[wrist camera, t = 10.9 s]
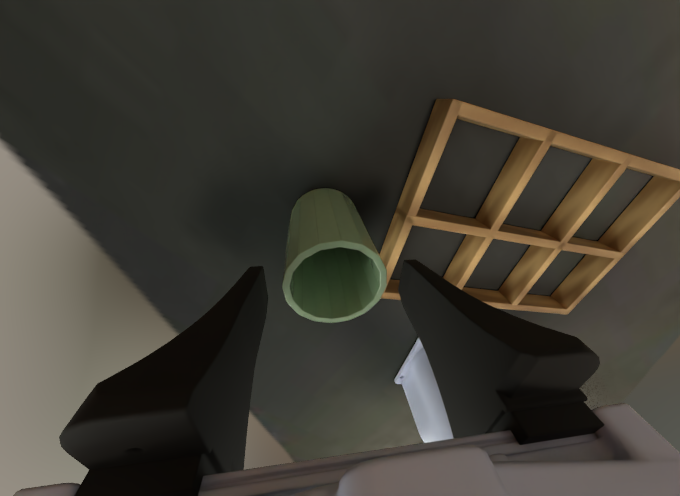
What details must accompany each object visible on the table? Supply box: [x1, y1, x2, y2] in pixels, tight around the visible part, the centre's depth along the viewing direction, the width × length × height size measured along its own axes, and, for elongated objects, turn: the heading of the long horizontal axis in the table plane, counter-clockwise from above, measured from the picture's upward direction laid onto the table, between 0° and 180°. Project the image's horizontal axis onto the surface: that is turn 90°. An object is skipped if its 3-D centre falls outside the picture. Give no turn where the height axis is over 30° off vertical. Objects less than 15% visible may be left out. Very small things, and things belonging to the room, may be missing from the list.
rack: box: [380, 99, 680, 314], centre depth 20 cm, size 15×22×2 cm
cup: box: [282, 188, 387, 323], centre depth 15 cm, size 5×5×8 cm
